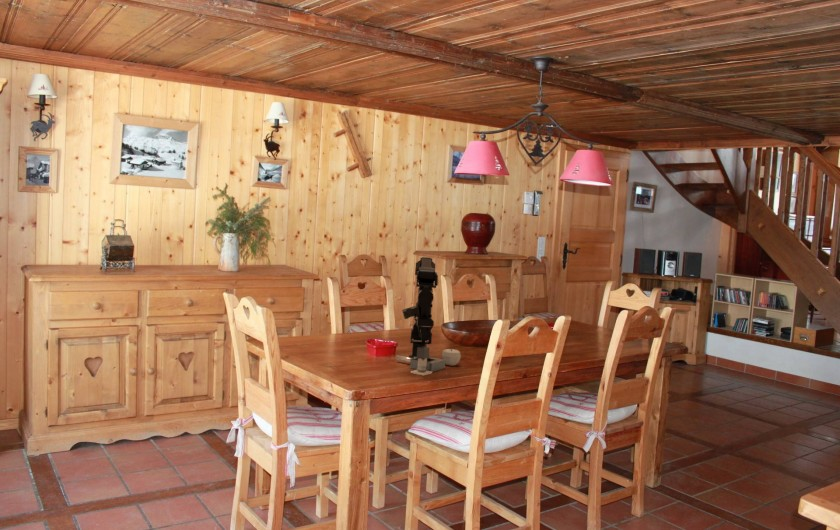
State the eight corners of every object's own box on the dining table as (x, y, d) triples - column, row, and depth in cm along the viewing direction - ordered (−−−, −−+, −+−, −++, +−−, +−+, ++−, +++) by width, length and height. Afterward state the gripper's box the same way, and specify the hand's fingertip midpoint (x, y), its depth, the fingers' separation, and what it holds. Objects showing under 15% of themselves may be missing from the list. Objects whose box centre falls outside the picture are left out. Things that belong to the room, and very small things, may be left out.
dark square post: (420, 369, 279) (422, 346, 278) (427, 371, 277) (429, 347, 276) (415, 371, 276) (417, 347, 275) (422, 373, 274) (424, 348, 273)
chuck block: (403, 359, 298) (404, 351, 298) (444, 368, 287) (445, 359, 287) (389, 363, 290) (390, 354, 290) (431, 372, 279) (431, 363, 279)
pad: (419, 370, 281) (419, 368, 281) (432, 373, 278) (432, 371, 278) (410, 372, 276) (410, 371, 276) (423, 375, 273) (423, 374, 272)
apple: (439, 365, 292) (441, 350, 291) (441, 362, 299) (443, 346, 299) (459, 367, 291) (460, 351, 290) (461, 363, 298) (462, 348, 298)
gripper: (402, 295, 287) (400, 334, 289) (405, 303, 269) (403, 344, 270) (430, 297, 288) (427, 335, 290) (435, 305, 270) (432, 345, 271)
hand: (422, 340), depth 280 cm, fingers open, 9 cm apart
